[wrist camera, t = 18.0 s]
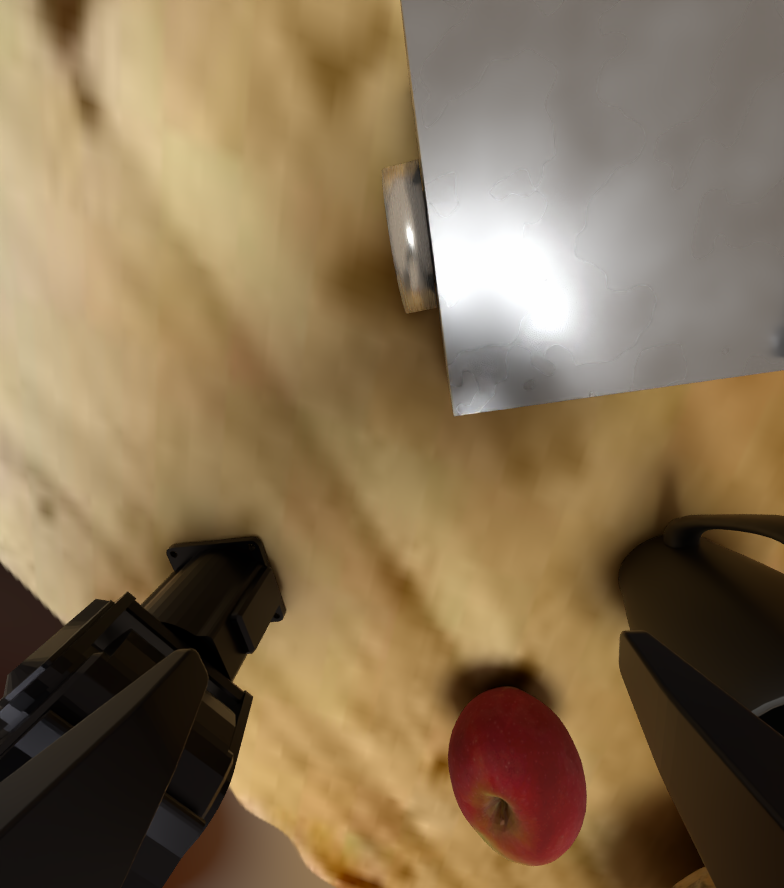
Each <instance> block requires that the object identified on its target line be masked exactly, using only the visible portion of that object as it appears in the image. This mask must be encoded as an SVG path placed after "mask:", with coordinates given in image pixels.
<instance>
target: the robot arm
mask: <svg viewBox="0 0 784 888" xmlns="http://www.w3.org/2000/svg"><path fill="white" fill-rule="evenodd" d="M251 544H253V545H254V546H255V547H253V546H252V545H251ZM166 553H167V556H168V558H169V561H170V563H171V565H172V567H173V569H174V572H173V573H172V574H171V575H170V576H169V577H168V578H167V579H166V580H165V581H164V582H163V583H162V584H161V585H160V586H159V587H158V588H157V589H156V590H155V591H154V592H153V593H152V594H151V595H150V596H149V597H148V598H147V599H146V600H145V601H144V602H143V603H142V604H141V605H140V604H139V603H138V602H136V601H135V599H136V598H135V597H134V596H133V595H131V594H130V593H129V592H126V593H125V594H124V595H123V596H122V597H120V598H119V599H118V600H117V601H116V602H113V601H112V600H110V601H105V600H99V599H95V600H94V601H93V602H92V603H91V604H90V605H88V606H87V607H86V608H85V609H84V610H83V611H81V612H80V613H79V614H78V615H77V616H76V617H74V618H73V619H72V620H71V621H70V622H69V623H67V624H66V625H65V626H64V627H63V628H62V629H60V630H59V631H58V632H57V633H56V634H55V635H54V636H53V637H51V638H50V639H49V640H48V641H47V642H45V643H44V644H43V645H42V646H41V647H40V648H39V649H37V650H36V651H35V652H34V653H33V654H32V655H30V656H29V657H28V658H27V659H26V660H25V661H23V662H22V663H21V664H20V665H19V666H18V667H17V668H15V669H14V670H13V671H12V672H11V673H10V674H8V676H7V682H6V687H5V692H4V697H3V698H2V699H1V700H0V888H162V887H163V886H164V884H165V882H166V881H167V879H168V878H169V876H170V875H171V873H172V872H173V870H174V869H175V867H176V866H177V864H178V862H179V861H180V859H181V858H182V857H183V855H184V854H185V853H186V851H187V850H188V849H189V848H190V847H191V846H192V845H193V843H194V842H195V841H196V840H197V839H198V838H199V836H200V835H201V834H202V832H203V831H204V829H205V828H206V827H207V825H208V824H209V822H210V821H211V819H212V818H213V816H214V814H215V813H216V810H217V809H218V807H219V806H220V804H221V801H222V800H223V798H224V796H225V794H226V791H227V789H228V787H229V785H230V782H231V779H232V776H233V773H234V769H235V765H236V761H237V758H238V754H239V750H240V746H241V742H242V738H243V734H244V731H245V727H246V723H247V719H248V715H249V711H250V708H251V704H252V700H253V696H252V695H250V694H249V693H248V692H247V691H246V690H245V691H243V690H241V689H240V688H239V687H238V686H237V685H235V684H234V683H233V680H234V678H235V676H236V674H237V672H238V671H239V669H240V667H241V665H242V663H243V661H244V660H245V658H246V656H247V654H252V653H253V652H254V651H255V650H256V648H257V646H258V644H259V642H260V641H261V639H262V637H263V635H264V633H265V631H266V629H267V627H268V625H269V623H270V622H278V621H281V620H283V618H284V616H285V613H286V611H285V608H284V605H283V602H282V597H281V594H280V591H279V588H278V585H277V582H276V580H275V577H274V574H273V571H272V569H271V568H270V565H269V562H268V559H267V556H266V554H265V551H264V548H263V545H262V542H261V541H260V540H259V539H258V538H256V537H245V538H235V539H224V540H214V541H203V542H193V543H182V544H174V545H172V546H171V547H170V548H169V549H168V550H167V552H166ZM277 613H278V614H277ZM619 668H620V672H621V675H622V678H623V680H624V683H625V686H626V688H627V691H628V693H629V696H630V698H631V701H632V704H633V706H634V709H635V711H636V714H637V716H638V719H639V722H640V724H641V727H642V729H643V732H644V734H645V737H646V740H647V742H648V745H649V747H650V750H651V752H652V755H653V758H654V760H655V762H656V765H657V767H658V770H659V772H660V775H661V777H662V779H663V781H664V783H665V785H666V787H667V790H668V792H669V794H670V796H671V798H672V800H673V802H674V804H675V806H676V808H677V810H678V812H679V814H680V816H681V818H682V820H683V822H684V824H685V826H686V828H687V830H688V832H689V834H690V836H691V838H692V840H693V843H694V845H695V847H696V849H697V851H698V853H699V855H700V857H701V859H702V861H703V863H704V865H705V867H706V869H707V871H708V873H709V875H710V877H711V879H712V881H713V883H714V885H715V887H716V888H784V737H783V736H782V735H781V734H780V733H778V732H777V731H776V730H774V729H773V728H772V727H770V726H769V725H768V724H767V723H765V722H764V721H763V720H761V719H760V718H759V717H757V716H756V715H755V714H754V713H752V712H751V711H750V710H748V709H747V708H746V707H745V706H743V705H742V704H741V703H739V702H738V701H737V700H735V699H734V698H733V697H732V696H730V695H729V694H728V693H726V692H725V691H724V690H722V689H721V688H720V687H719V686H717V685H716V684H715V683H713V682H712V681H711V680H709V679H708V678H707V677H706V676H704V675H703V674H702V673H700V672H699V671H698V670H696V669H695V668H694V667H693V666H691V665H690V664H689V663H687V662H686V661H685V660H683V659H682V658H681V657H680V656H678V655H677V654H676V653H674V652H673V651H672V650H670V649H669V648H668V647H667V646H665V645H664V644H663V643H661V642H660V641H659V640H658V639H656V638H655V637H654V636H652V635H651V634H650V633H648V632H646V631H644V630H630V631H622V632H621V634H620V643H619Z"/></svg>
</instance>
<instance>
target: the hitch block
mask: <svg viewBox="0 0 784 888" xmlns="http://www.w3.org/2000/svg"><path fill="white" fill-rule="evenodd" d="M400 2H401V11H402V20H403V29H404V37H405V46H406V55H407V64H408V73H409V82H410V90H411V98H412V106H413V114H414V121H415V129H416V137H417V145H418V153H419V160H420V168H421V176H422V184H423V191H425V195H426V203H427V211H428V219H429V227H430V235H431V243H432V251H433V258H434V266H435V274H436V282H437V283H435V285H436V293H437V301H438V309H439V316H440V324H441V332H442V340H443V348H444V355H445V363H446V371H447V379H448V385H449V391H450V397H451V403H452V408H453V414H454V416H459V415H466V414H473V413H480V412H488V411H495V410H502V409H509V408H516V407H523V406H530V405H538V404H545V403H552V402H559V401H566V400H573V399H580V398H588V397H595V396H602V395H609V394H616V393H623V392H630V391H638V390H645V389H652V388H659V387H666V386H673V385H680V384H688V383H695V382H702V381H709V380H716V379H723V378H731V377H738V376H745V375H752V374H759V373H766V372H773V371H781V370H784V0H400Z"/></svg>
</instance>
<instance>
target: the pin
mask: <svg viewBox="0 0 784 888" xmlns="http://www.w3.org/2000/svg"><path fill="white" fill-rule="evenodd" d="M382 183H383V194H384V202H385V210H386V217H387V224H388V231H389V237H390V243H391V249H392V255H393V260H394V265H395V271H396V276H397V281H398V285H399V290H400V294H401V298H402V302H403V306H404V309H405V311H406V313H412V312H417V311H422V310H428V309H433V308H437V302H436V293H435V285H434V283H437V282H436V274H435V266H434V258H433V251H432V243H431V235H430V227H429V219H428V211H427V203H426V195H425V191H422V184H421V176H420V169H419V162H418V160H414V161H410V162H406V163H402V164H398V165H394V166H390V167H386V168H383V169H382Z"/></svg>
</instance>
